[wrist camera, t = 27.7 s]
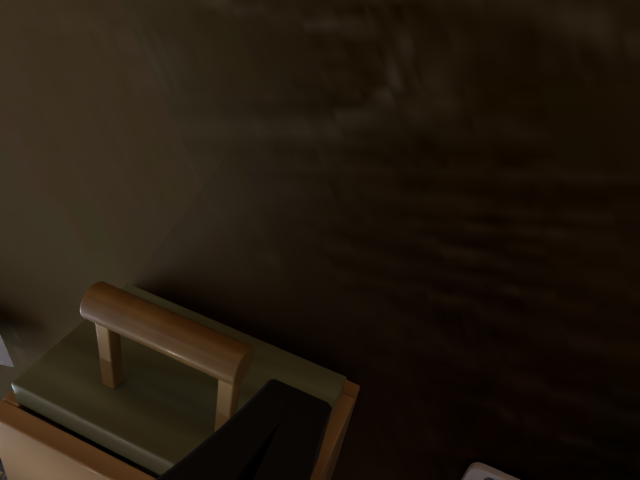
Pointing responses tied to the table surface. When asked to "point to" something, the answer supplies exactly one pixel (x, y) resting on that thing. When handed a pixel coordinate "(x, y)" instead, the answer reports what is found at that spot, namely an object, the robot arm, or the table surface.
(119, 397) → the drawer
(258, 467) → the robot arm
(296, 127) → the table surface
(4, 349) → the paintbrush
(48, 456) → the cabinet
